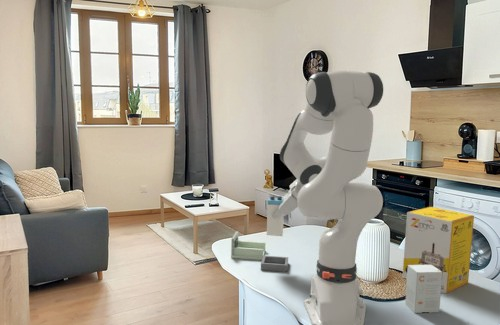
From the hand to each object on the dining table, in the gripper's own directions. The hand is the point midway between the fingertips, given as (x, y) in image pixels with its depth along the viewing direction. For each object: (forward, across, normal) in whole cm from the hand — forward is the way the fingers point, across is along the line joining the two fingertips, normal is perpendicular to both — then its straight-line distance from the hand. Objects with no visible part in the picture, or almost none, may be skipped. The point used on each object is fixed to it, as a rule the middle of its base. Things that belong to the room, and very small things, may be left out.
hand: (273, 215), depth 157 cm
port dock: (+22, -12, +7) cm, 26 cm away
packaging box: (-28, +2, +57) cm, 63 cm away
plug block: (+5, 0, +6) cm, 7 cm away
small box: (-20, +26, +49) cm, 59 cm away
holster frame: (+14, 0, +15) cm, 20 cm away
